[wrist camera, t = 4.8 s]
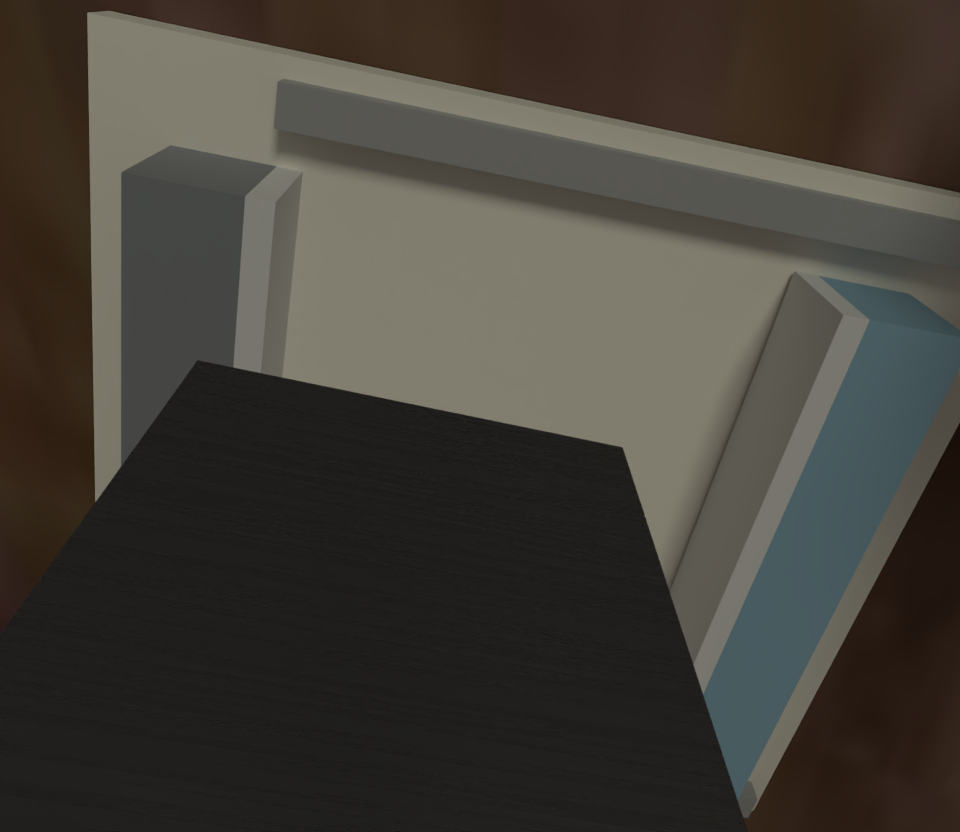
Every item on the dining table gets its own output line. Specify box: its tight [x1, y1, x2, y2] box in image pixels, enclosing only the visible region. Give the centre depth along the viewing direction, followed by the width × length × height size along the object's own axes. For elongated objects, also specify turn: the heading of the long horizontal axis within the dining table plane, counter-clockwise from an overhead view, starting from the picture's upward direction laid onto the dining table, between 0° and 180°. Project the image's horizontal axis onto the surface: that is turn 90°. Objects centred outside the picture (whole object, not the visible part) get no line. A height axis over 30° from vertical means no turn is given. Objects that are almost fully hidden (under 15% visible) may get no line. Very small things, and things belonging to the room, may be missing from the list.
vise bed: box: [87, 11, 960, 818], centre depth 19 cm, size 19×18×4 cm
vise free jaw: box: [670, 271, 960, 800], centre depth 19 cm, size 2×14×2 cm, turn 169°
